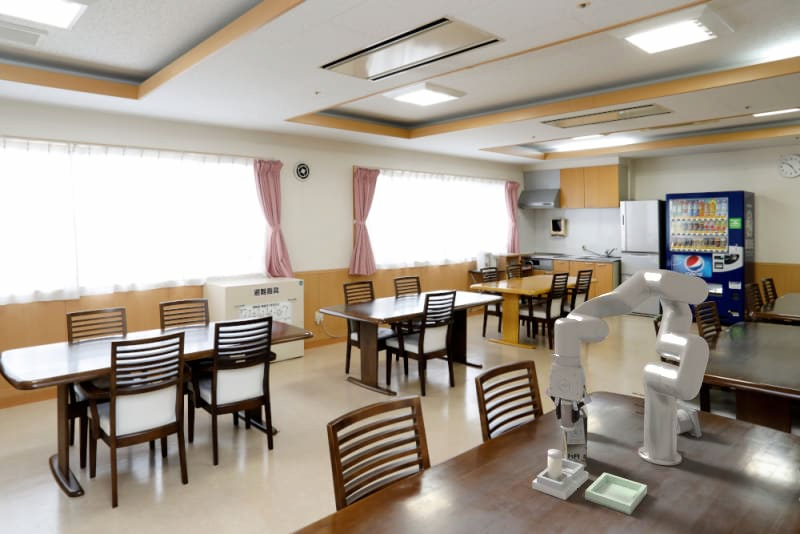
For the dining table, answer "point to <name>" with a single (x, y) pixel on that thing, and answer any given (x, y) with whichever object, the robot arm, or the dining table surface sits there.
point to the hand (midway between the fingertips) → (567, 419)
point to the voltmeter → (685, 419)
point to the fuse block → (560, 476)
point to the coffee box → (577, 441)
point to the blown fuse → (567, 415)
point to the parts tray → (616, 493)
